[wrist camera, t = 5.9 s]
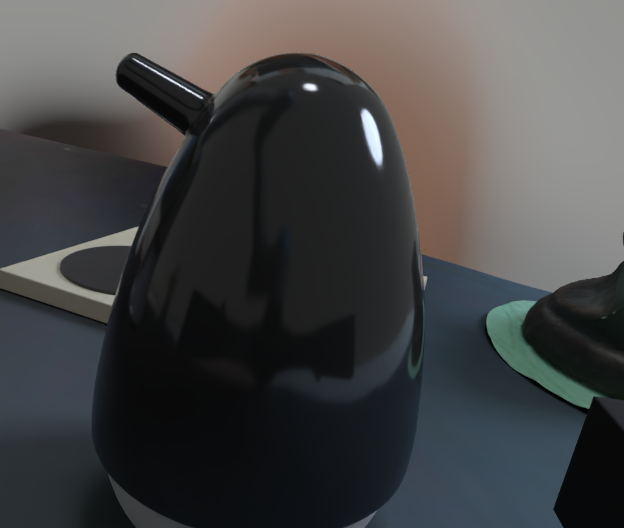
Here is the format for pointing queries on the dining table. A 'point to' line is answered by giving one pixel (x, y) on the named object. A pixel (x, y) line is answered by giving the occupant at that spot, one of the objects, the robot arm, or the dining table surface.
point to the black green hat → (567, 338)
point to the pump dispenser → (265, 307)
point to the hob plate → (75, 276)
